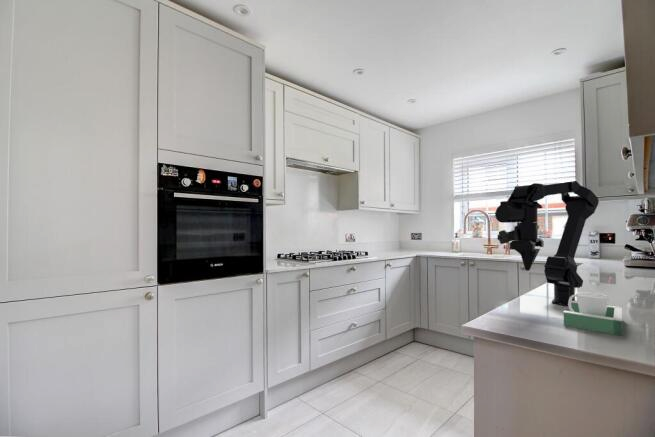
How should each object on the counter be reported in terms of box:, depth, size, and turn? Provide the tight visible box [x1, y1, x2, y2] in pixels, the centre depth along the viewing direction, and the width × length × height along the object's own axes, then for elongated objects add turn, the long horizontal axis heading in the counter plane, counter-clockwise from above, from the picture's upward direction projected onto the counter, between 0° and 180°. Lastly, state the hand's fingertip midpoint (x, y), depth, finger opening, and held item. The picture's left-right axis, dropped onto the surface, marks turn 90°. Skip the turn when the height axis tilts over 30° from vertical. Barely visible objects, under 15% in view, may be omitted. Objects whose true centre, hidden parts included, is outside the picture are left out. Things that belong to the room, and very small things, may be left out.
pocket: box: [563, 300, 623, 336], centre depth 88 cm, size 16×12×4 cm
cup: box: [567, 291, 610, 317], centre depth 88 cm, size 7×10×8 cm
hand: (527, 270), depth 104 cm, fingers closed
